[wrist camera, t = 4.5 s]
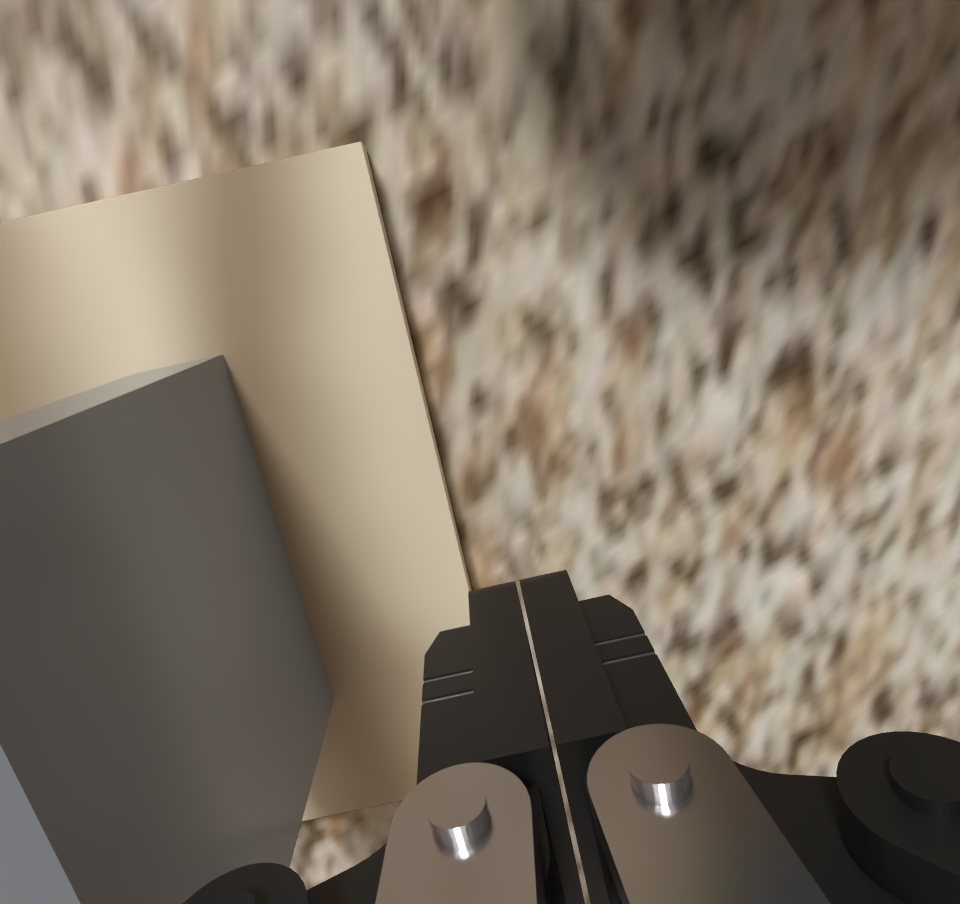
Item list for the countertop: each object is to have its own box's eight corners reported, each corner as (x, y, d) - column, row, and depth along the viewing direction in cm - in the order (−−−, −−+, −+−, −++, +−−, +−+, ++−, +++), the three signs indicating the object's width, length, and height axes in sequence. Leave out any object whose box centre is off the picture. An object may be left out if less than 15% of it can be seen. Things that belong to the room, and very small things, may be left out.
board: (365, 148, 14) (360, 141, 13) (511, 755, 18) (513, 777, 18) (-528, 348, 14) (-584, 353, 14) (-173, 897, 19) (-200, 924, 18)
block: (222, 354, 14) (-127, 495, 6) (334, 699, 17) (210, 1162, 8) (129, 374, 14) (-360, 545, 6) (254, 716, 17) (47, 1194, 8)
